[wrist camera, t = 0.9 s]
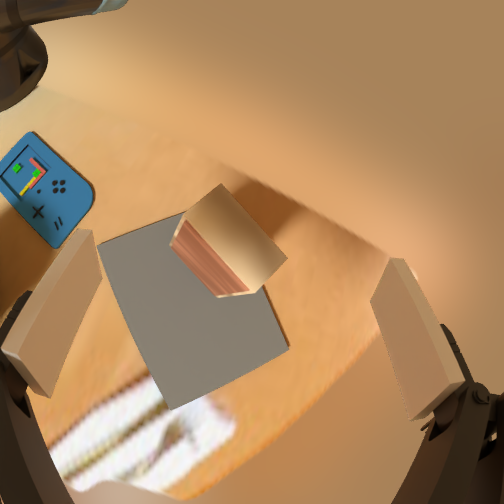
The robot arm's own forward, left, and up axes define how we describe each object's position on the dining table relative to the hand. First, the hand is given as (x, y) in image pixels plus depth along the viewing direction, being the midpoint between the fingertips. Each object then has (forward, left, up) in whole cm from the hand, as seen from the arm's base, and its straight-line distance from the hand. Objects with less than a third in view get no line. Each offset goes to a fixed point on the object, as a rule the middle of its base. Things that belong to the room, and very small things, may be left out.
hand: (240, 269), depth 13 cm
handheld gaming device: (-18, -12, -23) cm, 32 cm away
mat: (+2, +1, -22) cm, 22 cm away
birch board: (-2, +4, -22) cm, 22 cm away
